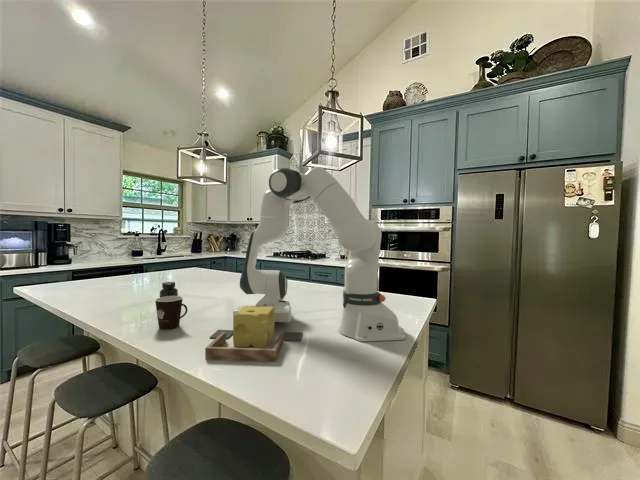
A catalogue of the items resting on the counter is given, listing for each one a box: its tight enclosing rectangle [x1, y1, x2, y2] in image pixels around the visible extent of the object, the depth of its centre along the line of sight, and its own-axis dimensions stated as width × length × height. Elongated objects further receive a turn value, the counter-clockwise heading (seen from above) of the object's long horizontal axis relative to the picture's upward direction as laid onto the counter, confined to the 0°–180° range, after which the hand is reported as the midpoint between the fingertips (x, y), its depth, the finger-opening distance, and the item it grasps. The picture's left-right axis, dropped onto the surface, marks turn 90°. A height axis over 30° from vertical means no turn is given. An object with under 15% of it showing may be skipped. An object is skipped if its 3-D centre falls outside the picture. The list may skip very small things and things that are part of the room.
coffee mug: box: [154, 295, 188, 331], centre depth 102 cm, size 12×9×10 cm
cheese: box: [232, 305, 276, 349], centre depth 91 cm, size 10×11×10 cm
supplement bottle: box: [159, 281, 179, 298], centre depth 122 cm, size 7×7×12 cm
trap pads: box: [209, 329, 304, 342], centre depth 96 cm, size 29×7×1 cm, turn 88°
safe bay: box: [204, 332, 284, 363], centre depth 84 cm, size 19×12×3 cm, turn 88°
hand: (257, 320), depth 96 cm, fingers closed, pressing on cheese
